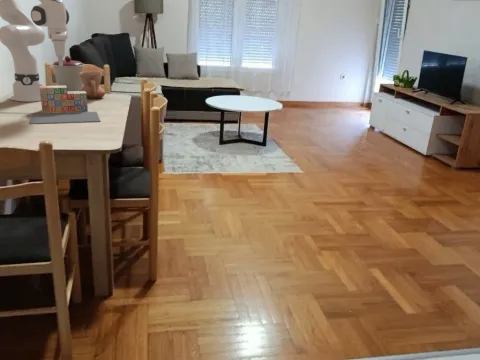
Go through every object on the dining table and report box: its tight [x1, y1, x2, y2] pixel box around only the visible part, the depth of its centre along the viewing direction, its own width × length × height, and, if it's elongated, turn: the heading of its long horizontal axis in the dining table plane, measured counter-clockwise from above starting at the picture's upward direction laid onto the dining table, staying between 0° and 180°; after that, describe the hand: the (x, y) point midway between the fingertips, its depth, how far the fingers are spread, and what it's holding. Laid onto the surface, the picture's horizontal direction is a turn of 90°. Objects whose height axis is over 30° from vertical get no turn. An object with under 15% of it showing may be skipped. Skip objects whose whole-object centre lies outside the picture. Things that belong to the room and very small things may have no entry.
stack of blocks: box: [40, 85, 89, 113], centre depth 228 cm, size 21×6×12 cm, turn 113°
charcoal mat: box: [29, 111, 101, 125], centre depth 216 cm, size 20×30×1 cm, turn 111°
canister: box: [51, 55, 85, 91], centre depth 273 cm, size 18×18×21 cm
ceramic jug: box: [79, 70, 106, 100], centre depth 261 cm, size 18×14×14 cm
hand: (60, 64), depth 222 cm, fingers open, 8 cm apart
